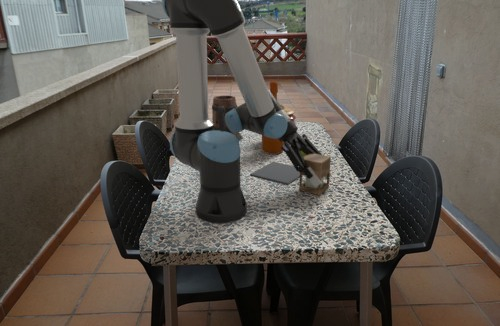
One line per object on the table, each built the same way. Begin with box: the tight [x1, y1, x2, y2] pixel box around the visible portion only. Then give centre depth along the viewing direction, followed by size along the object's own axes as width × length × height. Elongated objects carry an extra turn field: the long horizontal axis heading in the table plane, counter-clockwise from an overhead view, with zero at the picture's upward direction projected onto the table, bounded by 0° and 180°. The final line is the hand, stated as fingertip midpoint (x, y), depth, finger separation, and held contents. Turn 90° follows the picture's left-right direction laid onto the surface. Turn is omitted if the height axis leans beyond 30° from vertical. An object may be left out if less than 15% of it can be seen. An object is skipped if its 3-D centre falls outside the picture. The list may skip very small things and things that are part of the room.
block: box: [304, 176, 325, 189], centre depth 132 cm, size 4×4×4 cm
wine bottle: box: [261, 80, 284, 155], centre depth 166 cm, size 10×10×30 cm
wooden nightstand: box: [298, 153, 332, 196], centre depth 130 cm, size 7×7×11 cm
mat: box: [250, 161, 300, 186], centre depth 146 cm, size 16×16×1 cm
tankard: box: [211, 95, 244, 142], centre depth 184 cm, size 24×17×20 cm
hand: (324, 181), depth 129 cm, fingers closed on wooden nightstand, 7 cm apart
